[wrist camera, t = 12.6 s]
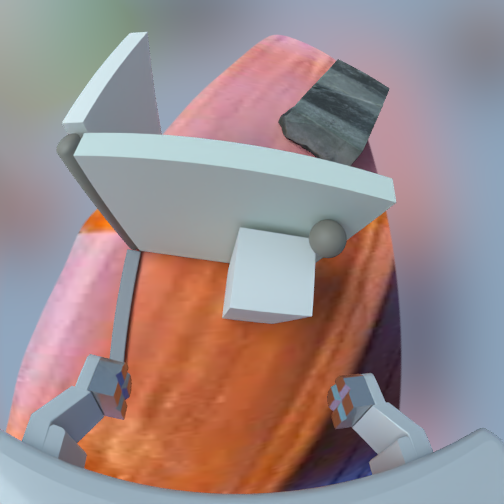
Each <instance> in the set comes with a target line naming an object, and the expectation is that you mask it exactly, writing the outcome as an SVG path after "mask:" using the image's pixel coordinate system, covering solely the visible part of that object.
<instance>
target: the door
mask: <svg viewBox="0 0 504 504" xmlns="http://www.w3.org/2000/svg"><path fill="white" fill-rule="evenodd" d="M57 153H58V155H59V156H60V158H61V159H62V161H63V162H64V164H65V165H66V166H67V168H68V169H69V171H70V172H71V174H72V175H73V176H74V178H75V179H76V180H77V182H78V183H79V185H80V186H81V187H82V189H83V190H84V191H85V193H86V194H87V195H88V197H89V198H90V199H91V201H92V202H93V203H94V204H95V206H96V207H97V208H98V210H99V211H100V212H101V214H102V215H103V216H104V217H105V219H106V220H107V221H108V222H109V224H110V225H111V226H112V227H113V228H114V230H115V231H116V232H117V233H118V235H119V236H120V237H121V238H122V239H123V240H124V242H125V243H126V244H127V245H128V246H129V248H131V249H133V250H136V249H139V250H140V251H146V252H153V253H160V254H167V255H174V256H181V257H189V258H196V259H203V260H210V261H218V262H225V263H230V261H231V257H232V254H233V250H234V247H235V243H236V240H237V236H238V232H239V229H240V227H241V228H248V229H254V230H261V231H267V232H274V233H280V234H286V235H292V236H299V237H305V238H309V244H310V246H311V248H312V250H313V251H314V252H315V263H316V262H317V261H319V260H320V259H322V258H323V257H324V258H332V257H335V256H337V255H339V254H340V253H341V252H342V251H343V249H344V248H345V245H346V240H348V239H349V238H350V237H352V236H353V235H354V234H356V233H357V232H358V231H360V230H361V229H362V228H364V227H365V226H366V225H368V224H369V223H370V222H372V221H373V220H374V219H376V218H377V217H378V216H380V215H381V214H382V213H383V212H385V211H386V210H387V209H389V208H390V207H391V206H392V205H394V204H395V203H396V198H395V192H394V185H393V179H391V178H388V177H385V176H382V175H379V174H375V173H372V172H369V171H365V170H362V169H358V168H355V167H351V166H347V165H343V164H339V163H336V162H332V161H327V160H323V159H319V158H315V157H310V156H306V155H301V154H297V153H292V152H287V151H282V150H276V149H271V148H265V147H260V146H254V145H248V144H241V143H234V142H227V141H220V140H212V139H203V138H194V137H183V136H171V135H157V134H138V133H84V135H83V137H82V139H81V138H80V136H79V135H78V134H76V133H72V134H69V135H67V136H65V137H64V138H63V139H62V140H61V141H60V142H59V144H58V146H57Z"/></svg>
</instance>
